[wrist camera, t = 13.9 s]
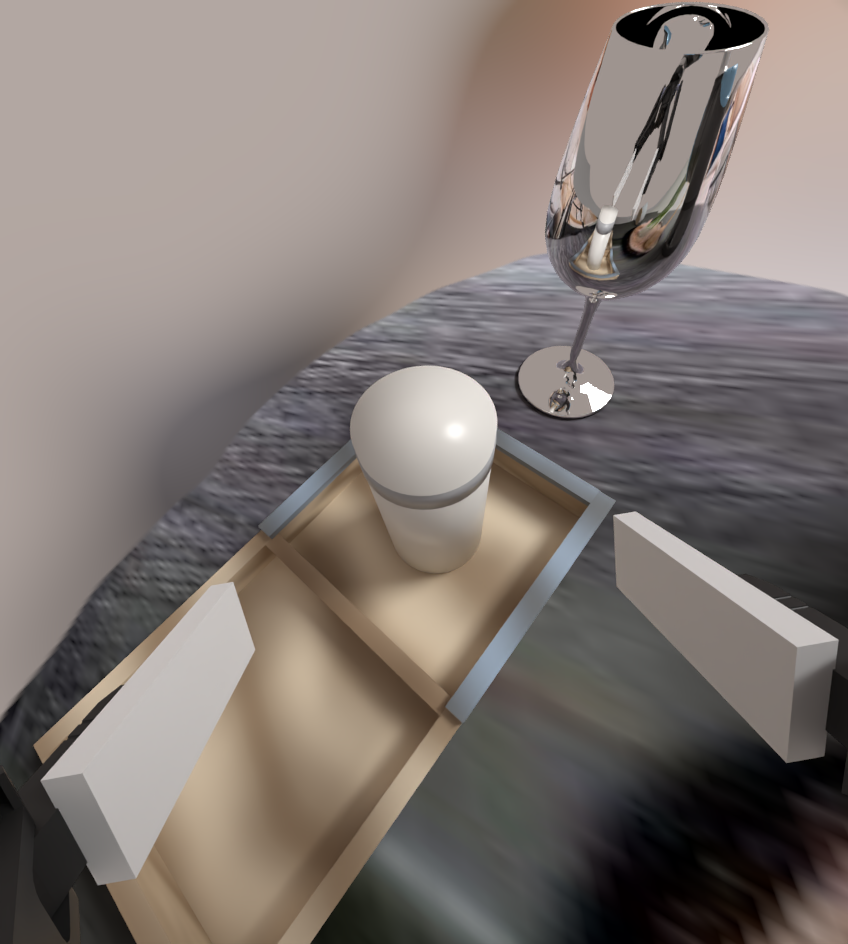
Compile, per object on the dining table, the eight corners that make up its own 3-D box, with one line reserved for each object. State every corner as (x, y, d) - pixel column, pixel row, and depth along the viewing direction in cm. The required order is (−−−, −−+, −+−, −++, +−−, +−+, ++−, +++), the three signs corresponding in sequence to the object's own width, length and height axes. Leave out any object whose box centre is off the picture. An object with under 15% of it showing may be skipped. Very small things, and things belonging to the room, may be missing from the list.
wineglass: (511, 413, 32) (578, 66, 14) (520, 342, 35) (584, -4, 18) (615, 427, 30) (831, 63, 13) (615, 352, 34) (782, -12, 16)
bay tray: (418, 403, 33) (415, 378, 30) (600, 519, 27) (616, 500, 24) (73, 739, 23) (23, 745, 20) (243, 1038, 17) (204, 1100, 14)
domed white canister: (429, 472, 29) (414, 345, 19) (500, 521, 27) (528, 408, 16) (371, 535, 27) (318, 431, 16) (442, 594, 25) (432, 517, 14)
